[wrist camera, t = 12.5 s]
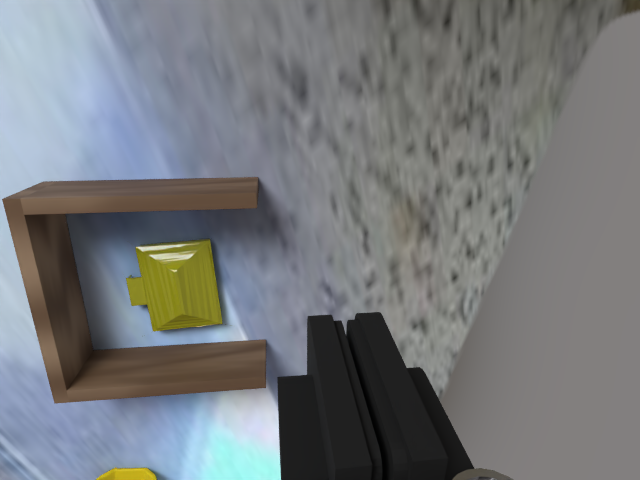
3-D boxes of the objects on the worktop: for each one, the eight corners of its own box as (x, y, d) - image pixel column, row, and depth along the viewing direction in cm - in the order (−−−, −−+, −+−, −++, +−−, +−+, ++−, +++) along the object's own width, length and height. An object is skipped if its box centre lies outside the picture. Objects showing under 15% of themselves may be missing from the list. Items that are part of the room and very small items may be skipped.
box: (43, 181, 30) (2, 199, 26) (258, 177, 32) (256, 192, 27) (82, 361, 35) (54, 403, 31) (266, 349, 37) (265, 387, 32)
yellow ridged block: (243, 326, 37) (241, 345, 34) (133, 338, 36) (122, 358, 33) (228, 215, 33) (225, 225, 31) (106, 225, 33) (92, 237, 30)
